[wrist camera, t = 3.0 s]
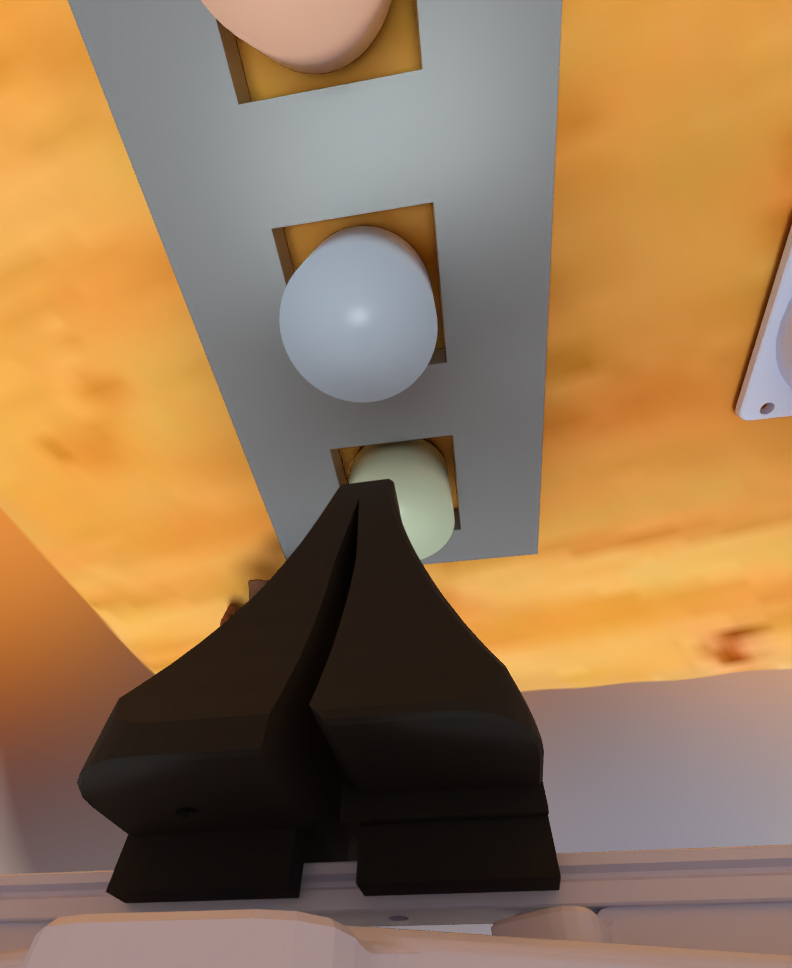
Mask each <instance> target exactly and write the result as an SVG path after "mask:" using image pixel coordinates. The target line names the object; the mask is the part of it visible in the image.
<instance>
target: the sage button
mask: <svg viewBox="0 0 792 968" xmlns="http://www.w3.org/2000/svg"><path fill="white" fill-rule="evenodd" d="M382 479H390V480H392V481H393V482H394V485H395V490H396V495H397V499H398V504H399V509H400V514H401V519H402V523H403V526H404V528H405V531H406V533H407V535H408V538H409V540H410V542H411V544H412V546H413V548H414V550H415V552H416V554H417V555H418V557H419V559H420V560H421V559H424V558H427V557H429V556H431V555H433V554H434V553H436V552H437V551H439V550H440V549H441V548H442V547H443V546H444V545H445V544H446V543H447V541H448V540H449V539H450V537H451V535H452V532H453V529H454V524H455V518H454V510H453V503H452V495H451V488H450V481H449V473H448V467H447V464H446V461H445V459H444V457H443V456H442V454H441V453H440V452H439V451H438V450H437V449H436V448H435V447H434V446H433V445H432V444H430V443H429V442H427V441H425V440H423V439H415V440H406V441H398V442H389V443H381V444H372V445H366V446H364V447H363V448H362V449H361V450H360V451H359V453H358V454H357V455H356V457H355V459H354V461H353V464H352V467H351V473H350V479H349V484H350V483H358V482H366V481H374V480H382Z"/></svg>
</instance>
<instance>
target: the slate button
mask: <svg viewBox="0 0 792 968" xmlns="http://www.w3.org/2000/svg"><path fill="white" fill-rule="evenodd" d="M279 323H280V332H281V337H282V341H283V344H284V347H285V350H286V352H287V354H288V356H289V358H290V360H291V362H292V363H293V365H294V366H295V368H296V369H297V370H298V372H299V373H300V374H301V375H302V376H303V377H304V378H305V379H306V380H307V381H308V382H309V383H310V384H312V385H313V386H314V387H316V388H317V389H319V390H320V391H322V392H324V393H326V394H328V395H330V396H332V397H335V398H338V399H341V400H345V401H350V402H362V403H364V402H375V401H380V400H384V399H387V398H390V397H392V396H394V395H397V394H399V393H400V392H402V391H403V390H405V389H407V388H408V387H409V386H410V385H412V384H413V383H414V382H415V381H416V380H417V379H418V378H419V377H420V375H421V374H422V373H423V371H424V370H425V369H426V367H427V365H428V363H429V361H430V360H431V357H432V354H433V352H434V349H435V345H436V340H437V331H438V326H437V314H436V308H435V303H434V298H433V293H432V288H431V282H430V279H429V275H428V272H427V270H426V267H425V265H424V263H423V261H422V260H421V258H420V256H419V255H418V254H417V252H416V251H415V250H414V249H413V248H412V247H411V246H410V245H409V244H408V243H407V242H406V241H405V240H403V239H402V238H401V237H399V236H398V235H396V234H394V233H392V232H390V231H388V230H385V229H382V228H378V227H374V226H353V227H349V228H345V229H342V230H340V231H337V232H335V233H333V234H332V235H330V236H328V237H327V238H326V239H324V240H323V241H322V242H321V243H320V244H319V245H318V246H317V247H316V248H315V249H314V251H313V252H312V253H311V254H310V255H309V256H308V257H307V259H306V260H305V261H304V262H303V263H302V264H301V265H300V267H299V268H298V269H297V270H296V271H295V273H294V274H293V276H292V277H291V279H290V280H289V282H288V284H287V286H286V288H285V291H284V294H283V297H282V300H281V306H280V316H279Z"/></svg>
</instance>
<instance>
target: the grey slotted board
mask: <svg viewBox="0 0 792 968" xmlns="http://www.w3.org/2000/svg"><path fill="white" fill-rule="evenodd" d="M414 1H415V13H416V24H417V36H418V48H419V59H420V70H416V71H411V72H406V73H401V74H396V75H390V76H385V77H380V78H375V79H370V80H364V81H359V82H354V83H349V84H344V85H338V86H333V87H328V88H323V89H317V90H312V91H307V92H302V93H297V94H291V95H286V96H281V97H276V98H271V99H265V100H260V101H255V102H251V98H250V94H249V90H248V86H247V82H246V79H245V75H244V71H243V67H242V63H241V59H240V55H239V51H238V47H237V43H236V39H235V35H234V34H233V33H232V32H231V31H229V30H228V29H227V28H226V27H224V26H223V25H222V24H221V23H220V22H219V21H218V20H217V19H216V18H215V17H214V16H213V15H212V14H211V13H210V11H209V10H208V9H207V8H206V6H205V5H204V4H203V3H202V2H201V0H68V2H69V5H70V7H71V10H72V13H73V15H74V18H75V20H76V23H77V25H78V28H79V30H80V33H81V36H82V38H83V41H84V43H85V46H86V48H87V51H88V54H89V56H90V59H91V61H92V64H93V66H94V69H95V71H96V74H97V77H98V79H99V82H100V84H101V87H102V89H103V92H104V95H105V97H106V100H107V102H108V105H109V107H110V110H111V112H112V115H113V118H114V120H115V123H116V125H117V128H118V130H119V133H120V135H121V138H122V141H123V143H124V146H125V148H126V151H127V153H128V156H129V159H130V161H131V164H132V166H133V169H134V171H135V174H136V176H137V179H138V182H139V184H140V187H141V189H142V192H143V194H144V197H145V200H146V202H147V205H148V207H149V210H150V212H151V215H152V217H153V220H154V223H155V225H156V228H157V230H158V233H159V235H160V238H161V241H162V243H163V246H164V248H165V251H166V253H167V256H168V258H169V261H170V264H171V266H172V269H173V271H174V274H175V276H176V279H177V282H178V284H179V287H180V289H181V292H182V294H183V297H184V299H185V302H186V305H187V307H188V310H189V312H190V315H191V317H192V320H193V323H194V325H195V328H196V330H197V333H198V335H199V338H200V340H201V343H202V346H203V348H204V351H205V353H206V356H207V358H208V361H209V363H210V366H211V369H212V371H213V374H214V376H215V379H216V381H217V384H218V387H219V389H220V392H221V394H222V397H223V399H224V402H225V404H226V407H227V410H228V412H229V415H230V417H231V420H232V422H233V425H234V428H235V430H236V433H237V435H238V438H239V440H240V443H241V445H242V448H243V451H244V453H245V456H246V458H247V461H248V463H249V466H250V469H251V471H252V474H253V476H254V479H255V481H256V484H257V486H258V489H259V492H260V494H261V497H262V499H263V502H264V504H265V507H266V510H267V512H268V515H269V517H270V520H271V522H272V525H273V527H274V530H275V533H276V535H277V538H278V540H279V543H280V545H281V548H282V550H283V553H284V556H285V558H286V561H287V559H288V558H289V557H290V556H291V554H292V553H293V552H294V551H295V549H296V548H297V547H298V546H299V544H300V543H301V542H302V540H303V539H304V538H305V536H306V535H307V533H308V532H309V531H310V529H311V528H312V526H313V525H314V524H315V522H316V521H317V519H318V518H319V517H320V515H321V514H322V512H323V511H324V509H325V508H326V506H327V505H328V503H329V502H330V500H331V498H332V497H333V495H334V494H335V492H336V491H337V489H338V488H339V487H340V486H341V485H342V484H347V480H346V476H345V472H344V468H343V465H342V461H341V457H340V453H339V449H338V448H346V447H355V446H363V445H372V444H381V443H389V442H398V441H406V440H415V439H423V438H432V437H440V436H449V435H452V446H453V457H454V469H455V481H456V493H457V504H458V509H453V510H454V518H455V524H454V529H453V532H452V535H451V537H450V539H449V540H448V541H447V543H446V544H445V545H444V546H443V547H442V548H441V549H440V550H439V551H437V552H436V553H434V554H433V555H431V556H429V557H427V558H424V559H421V560H420V561H421V563H422V564H432V563H443V562H454V561H465V560H476V559H487V558H498V557H509V556H520V555H531V554H538V532H539V510H540V487H541V465H542V442H543V420H544V397H545V375H546V352H547V330H548V307H549V285H550V262H551V240H552V217H553V195H554V172H555V150H556V127H557V105H558V82H559V60H560V37H561V15H562V0H414ZM431 202H432V212H433V223H434V235H435V247H436V258H437V270H438V282H439V294H440V305H441V317H442V329H443V340H444V348H441V349H434V352H433V354H432V357H431V360H430V361H429V363H428V365H427V367H426V369H425V370H424V371H423V373H422V374H421V375H420V377H419V378H418V379H417V380H416V381H415V382H414V383H413V384H412V385H410V386H409V387H408V388H407V389H405V390H403V391H402V392H400V393H399V394H397V395H394V396H392V397H390V398H387V399H384V400H380V401H375V402H364V403H362V402H350V401H345V400H341V399H338V398H335V397H332V396H330V395H328V394H326V393H324V392H322V391H320V390H319V389H317V388H316V387H314V386H313V385H312V384H310V383H309V382H308V381H307V380H306V379H305V378H304V377H303V376H302V375H301V374H300V373H299V372H298V370H297V369H296V368H295V366H294V365H293V363H292V362H291V360H290V358H289V356H288V354H287V352H286V350H285V347H284V344H283V341H282V337H281V332H280V323H279V316H280V306H281V300H282V297H283V294H284V291H285V288H286V286H287V284H288V282H289V280H290V279H291V277H292V276H293V274H294V270H293V266H292V262H291V258H290V254H289V250H288V246H287V242H286V238H285V234H284V230H283V227H286V226H292V225H298V224H304V223H310V222H316V221H322V220H328V219H334V218H340V217H346V216H352V215H358V214H365V213H371V212H377V211H383V210H389V209H395V208H401V207H407V206H413V205H419V204H425V203H431Z"/></svg>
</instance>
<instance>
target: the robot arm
mask: <svg viewBox="0 0 792 968" xmlns="http://www.w3.org/2000/svg"><path fill="white" fill-rule="evenodd" d="M766 403H768V404H767V406H766V407H765V408H763V409H761V407H762V406H763V405H764V404H766ZM760 409H761V410H760ZM735 412H736V414H737V415H738V416H739V417H740V418H741V419H743V420H748V421H750V420H759V419H768V418H777V417H786V416H792V226H791V229H790V232H789V235H788V239H787V242H786V245H785V248H784V252H783V255H782V258H781V262H780V265H779V268H778V271H777V275H776V278H775V281H774V284H773V288H772V291H771V294H770V297H769V301H768V304H767V307H766V310H765V314H764V317H763V320H762V323H761V327H760V330H759V333H758V336H757V340H756V343H755V346H754V349H753V353H752V356H751V359H750V362H749V366H748V369H747V372H746V376H745V379H744V382H743V385H742V389H741V392H740V395H739V398H738V402H737V405H736V409H735ZM543 756H544V750H543V744H542V740H541V736H540V733H539V731H538V728H537V725H536V723H535V720H534V718H533V716H532V714H531V712H530V710H529V708H528V706H527V704H526V702H525V700H524V698H523V696H522V694H521V692H520V691H519V689H518V687H517V685H516V684H515V682H514V680H513V678H512V677H511V675H510V673H509V671H508V670H507V668H506V666H505V665H504V664H503V663H502V662H501V661H500V660H499V659H498V658H497V657H496V656H495V655H494V654H493V653H492V652H491V651H490V650H489V649H488V648H487V647H486V646H485V645H484V644H483V643H482V642H481V641H480V640H479V639H478V638H477V637H476V635H475V634H474V633H473V632H472V631H471V630H470V629H469V628H468V626H467V625H466V624H465V623H464V622H463V621H462V619H461V618H460V617H459V615H458V614H457V613H456V612H455V610H454V609H453V608H452V607H451V605H450V604H449V603H448V601H447V600H446V599H445V598H444V596H443V595H442V594H441V592H440V591H439V589H438V588H437V586H436V585H435V583H434V582H433V580H432V579H431V577H430V576H429V574H428V572H427V571H426V569H425V568H424V566H423V564H422V563H421V561H420V559H419V557H418V555H417V554H416V552H415V550H414V548H413V546H412V544H411V542H410V540H409V538H408V535H407V533H406V531H405V528H404V526H403V523H402V519H401V514H400V509H399V504H398V499H397V495H396V490H395V485H394V482H393V481H392V480H390V479H382V480H374V481H366V482H358V483H350V484H342V485H341V486H340V487H339V488H338V489H337V491H336V492H335V494H334V495H333V497H332V498H331V500H330V502H329V503H328V505H327V506H326V508H325V509H324V511H323V512H322V514H321V515H320V517H319V518H318V519H317V521H316V522H315V524H314V525H313V526H312V528H311V529H310V531H309V532H308V533H307V535H306V536H305V538H304V539H303V540H302V542H301V543H300V544H299V546H298V547H297V548H296V549H295V551H294V552H293V553H292V554H291V556H290V557H289V558H288V559H287V561H286V562H285V563H284V564H283V565H282V567H281V568H280V569H279V570H278V571H277V572H276V574H275V575H274V576H273V577H272V578H271V579H270V580H269V581H268V582H267V583H266V584H265V585H264V586H263V587H262V588H261V589H260V590H259V591H258V593H257V594H256V595H255V596H253V597H252V598H251V599H250V600H249V601H248V602H247V603H246V604H245V605H244V606H243V607H241V608H240V609H239V610H238V611H237V612H236V613H235V614H234V615H233V616H231V617H230V618H229V619H228V620H227V621H226V622H225V623H224V624H222V625H221V626H220V627H219V628H218V629H217V630H215V631H214V632H213V633H212V634H210V635H209V636H208V637H207V638H205V639H204V640H203V641H202V642H200V643H199V644H198V645H196V646H195V647H194V648H192V649H191V650H190V651H188V652H187V653H186V654H184V655H183V656H182V657H180V658H179V659H178V660H176V661H175V662H173V663H172V664H171V665H169V666H168V667H166V668H165V669H163V670H162V671H160V672H159V673H157V674H156V675H154V676H153V677H152V678H150V679H148V680H147V681H145V682H144V683H142V684H141V685H139V686H138V687H136V688H135V689H133V690H132V691H130V692H129V693H127V694H125V695H124V696H122V697H121V698H119V700H118V702H117V703H116V705H115V707H114V709H113V711H112V713H111V714H110V717H109V718H108V720H107V722H106V724H105V726H104V728H103V730H102V732H101V734H100V736H99V737H98V740H97V741H96V743H95V746H94V747H93V749H92V751H91V753H90V755H89V757H88V759H87V761H86V763H85V765H84V767H83V769H82V771H81V773H80V775H79V778H78V781H77V784H78V786H79V789H80V792H81V794H82V797H83V798H84V799H85V800H86V801H87V802H88V803H89V804H90V805H91V806H92V807H93V808H95V809H96V810H97V811H99V812H100V813H101V814H102V815H104V816H105V817H106V818H108V819H109V820H111V821H112V822H113V823H114V824H116V825H117V826H118V827H120V828H121V829H122V830H123V831H125V832H126V833H128V837H127V840H126V842H125V845H124V847H123V849H122V852H121V854H120V857H119V859H118V862H117V864H116V867H115V869H114V870H112V871H110V870H109V871H85V872H57V873H34V874H33V873H31V874H5V875H0V968H792V844H791V845H765V846H741V847H740V846H739V847H713V848H688V849H663V850H662V849H660V850H636V851H635V850H634V851H608V852H582V853H557V854H556V851H555V847H554V842H553V837H552V832H551V828H550V823H549V818H548V813H549V811H548V804H547V799H546V795H545V790H544V786H543V781H542V780H543ZM451 924H452V925H457V924H493V926H492V927H491V930H492V935H481V934H467V933H451V932H437V931H423V930H408V929H394V928H379V927H370V926H409V925H410V926H411V925H451Z"/></svg>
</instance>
